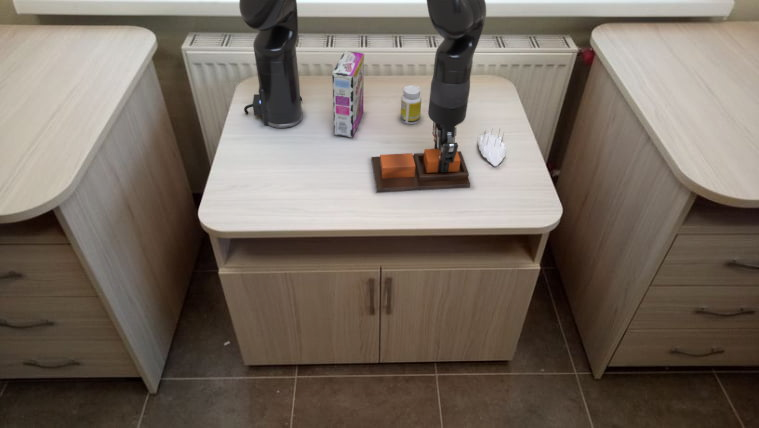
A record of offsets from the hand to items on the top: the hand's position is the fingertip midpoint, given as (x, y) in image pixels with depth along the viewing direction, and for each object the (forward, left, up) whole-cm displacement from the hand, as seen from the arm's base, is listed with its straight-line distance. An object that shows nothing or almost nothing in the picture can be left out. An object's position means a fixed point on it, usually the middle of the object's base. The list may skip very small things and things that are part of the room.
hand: (440, 164), depth 117 cm
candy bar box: (-18, +20, -2) cm, 27 cm away
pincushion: (+13, +7, -2) cm, 15 cm away
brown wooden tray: (-4, 0, -2) cm, 5 cm away
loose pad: (0, 0, 0) cm, 0 cm away
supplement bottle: (-3, +21, -2) cm, 21 cm away
